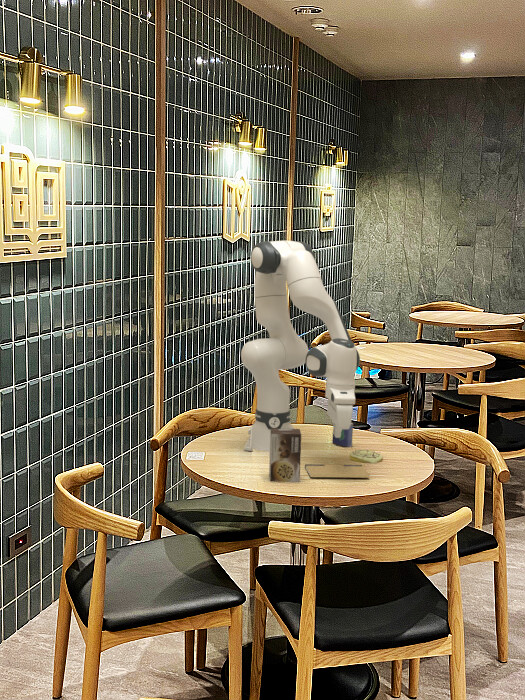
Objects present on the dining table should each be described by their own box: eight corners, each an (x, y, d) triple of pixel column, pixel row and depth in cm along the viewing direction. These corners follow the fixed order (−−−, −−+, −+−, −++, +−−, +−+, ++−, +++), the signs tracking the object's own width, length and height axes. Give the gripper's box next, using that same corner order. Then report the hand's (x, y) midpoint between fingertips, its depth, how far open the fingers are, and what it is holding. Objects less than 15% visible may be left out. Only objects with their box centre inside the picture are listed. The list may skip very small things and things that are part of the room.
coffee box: (298, 480, 253) (300, 428, 250) (299, 486, 246) (302, 433, 244) (268, 479, 252) (270, 427, 250) (269, 486, 246) (271, 432, 244)
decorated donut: (378, 469, 269) (378, 458, 268) (345, 465, 272) (346, 454, 272) (385, 461, 278) (385, 450, 278) (353, 457, 282) (354, 446, 281)
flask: (353, 448, 294) (355, 418, 292) (347, 449, 292) (348, 419, 291) (335, 442, 301) (337, 413, 300) (329, 443, 299) (331, 414, 298)
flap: (304, 471, 263) (304, 463, 262) (360, 471, 264) (360, 464, 264) (310, 481, 250) (310, 473, 250) (369, 482, 252) (369, 474, 251)
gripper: (324, 385, 264) (321, 427, 266) (335, 399, 244) (332, 444, 246) (343, 385, 265) (340, 427, 267) (356, 400, 245) (353, 445, 247)
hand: (336, 436), depth 256 cm, fingers closed
